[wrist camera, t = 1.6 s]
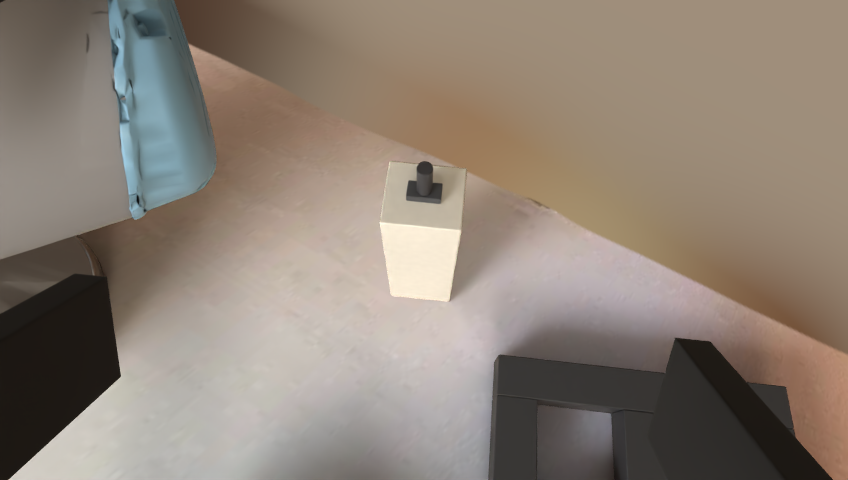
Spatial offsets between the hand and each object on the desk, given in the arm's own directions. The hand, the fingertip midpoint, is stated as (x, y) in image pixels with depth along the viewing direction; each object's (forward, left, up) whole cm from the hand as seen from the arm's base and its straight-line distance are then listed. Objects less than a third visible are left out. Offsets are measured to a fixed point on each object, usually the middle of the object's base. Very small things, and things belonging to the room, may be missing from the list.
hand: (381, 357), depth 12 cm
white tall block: (-7, +8, -22) cm, 25 cm away
